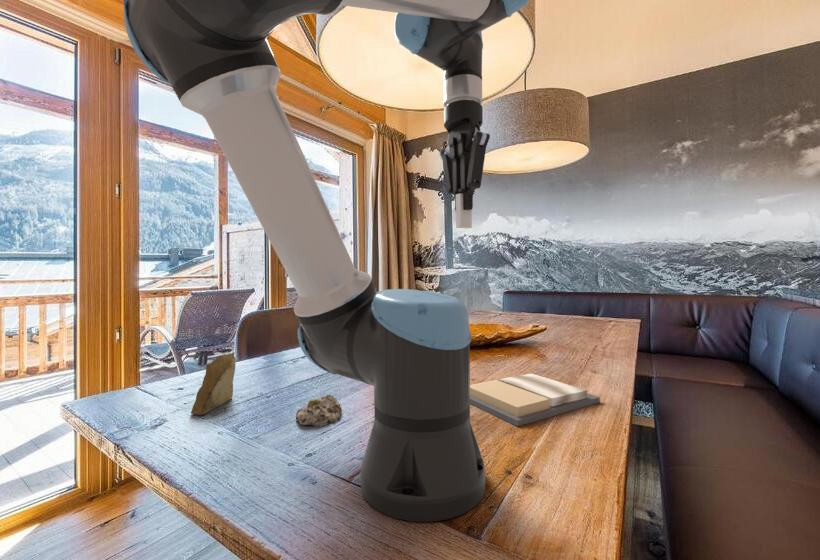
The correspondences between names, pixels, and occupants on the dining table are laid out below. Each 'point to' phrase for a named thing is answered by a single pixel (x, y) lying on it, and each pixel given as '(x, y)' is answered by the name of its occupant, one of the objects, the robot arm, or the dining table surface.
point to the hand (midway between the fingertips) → (463, 227)
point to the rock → (215, 385)
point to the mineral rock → (319, 411)
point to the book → (547, 388)
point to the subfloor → (519, 402)
